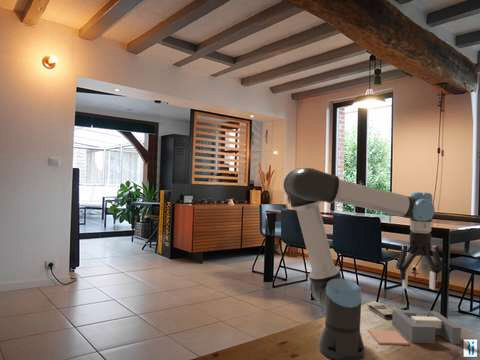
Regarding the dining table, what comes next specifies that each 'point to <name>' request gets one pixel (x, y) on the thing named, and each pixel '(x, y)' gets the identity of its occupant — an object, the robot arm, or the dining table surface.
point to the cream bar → (427, 320)
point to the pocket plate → (425, 327)
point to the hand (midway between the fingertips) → (418, 288)
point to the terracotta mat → (388, 337)
